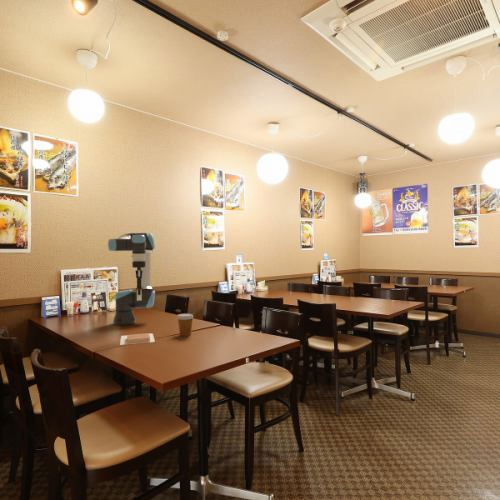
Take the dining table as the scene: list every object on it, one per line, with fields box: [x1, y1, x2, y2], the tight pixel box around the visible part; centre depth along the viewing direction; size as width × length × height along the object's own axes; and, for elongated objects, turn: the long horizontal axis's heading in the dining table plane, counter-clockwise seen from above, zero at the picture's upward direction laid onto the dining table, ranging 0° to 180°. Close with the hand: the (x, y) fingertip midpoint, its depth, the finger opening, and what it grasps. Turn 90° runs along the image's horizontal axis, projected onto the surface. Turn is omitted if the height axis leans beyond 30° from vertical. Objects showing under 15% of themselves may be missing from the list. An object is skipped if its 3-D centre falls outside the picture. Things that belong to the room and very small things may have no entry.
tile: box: [127, 332, 150, 344], centre depth 196 cm, size 2×12×12 cm
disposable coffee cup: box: [177, 313, 194, 337], centre depth 210 cm, size 10×10×12 cm
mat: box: [119, 332, 155, 346], centre depth 199 cm, size 22×18×1 cm
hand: (139, 300), depth 209 cm, fingers closed
